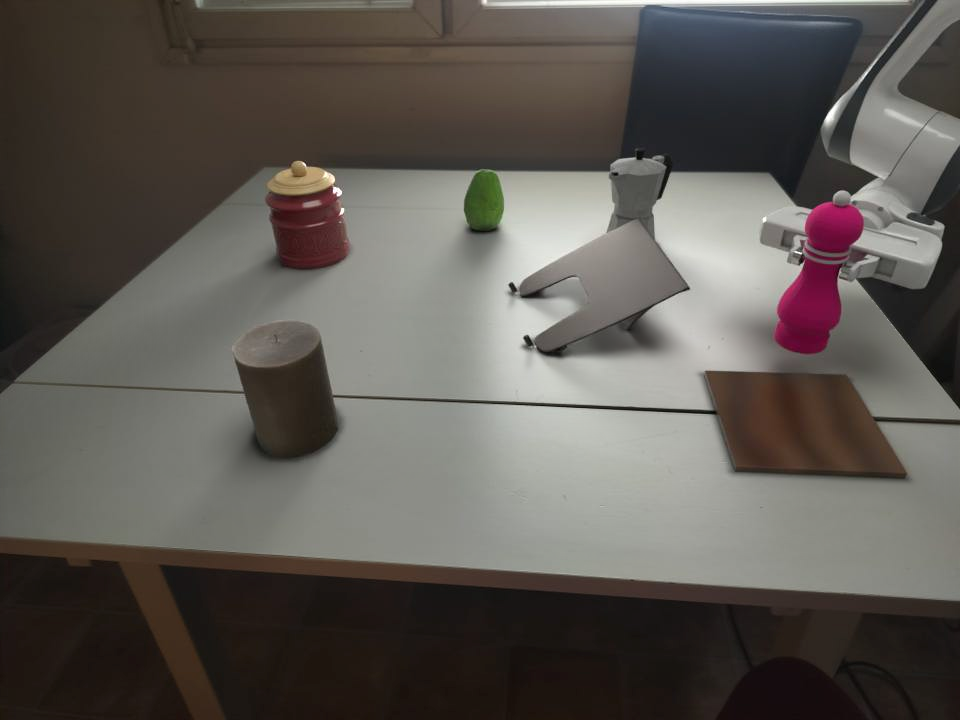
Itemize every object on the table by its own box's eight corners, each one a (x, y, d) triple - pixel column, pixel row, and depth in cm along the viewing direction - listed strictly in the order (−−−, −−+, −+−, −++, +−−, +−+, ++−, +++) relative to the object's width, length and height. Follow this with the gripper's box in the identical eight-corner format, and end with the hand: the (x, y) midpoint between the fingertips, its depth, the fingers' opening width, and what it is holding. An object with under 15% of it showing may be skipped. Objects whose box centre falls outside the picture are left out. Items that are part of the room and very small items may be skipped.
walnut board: (843, 383, 87) (846, 374, 86) (902, 483, 73) (907, 473, 72) (703, 379, 89) (704, 370, 88) (733, 476, 74) (736, 466, 73)
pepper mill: (832, 361, 82) (885, 206, 70) (769, 351, 84) (810, 199, 72) (828, 330, 87) (876, 182, 76) (769, 322, 89) (807, 177, 78)
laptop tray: (528, 314, 115) (504, 273, 109) (652, 252, 110) (634, 206, 105) (554, 397, 96) (526, 352, 91) (705, 326, 91) (685, 274, 86)
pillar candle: (346, 449, 79) (326, 345, 71) (262, 471, 77) (231, 365, 68) (331, 402, 87) (312, 302, 78) (254, 420, 84) (225, 319, 75)
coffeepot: (622, 266, 116) (633, 164, 105) (584, 247, 122) (591, 149, 112) (681, 242, 123) (697, 144, 113) (643, 225, 129) (654, 132, 119)
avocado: (511, 233, 128) (511, 172, 121) (473, 241, 126) (471, 179, 119) (494, 218, 134) (493, 159, 127) (458, 225, 132) (455, 165, 125)
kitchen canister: (300, 238, 128) (282, 146, 118) (362, 245, 125) (349, 151, 115) (265, 269, 118) (242, 171, 108) (331, 277, 115) (314, 177, 105)
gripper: (790, 187, 91) (742, 218, 83) (960, 228, 79) (923, 268, 71) (779, 230, 94) (732, 264, 86) (940, 275, 82) (903, 319, 75)
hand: (819, 266), depth 79 cm, fingers closed on pepper mill, 5 cm apart
